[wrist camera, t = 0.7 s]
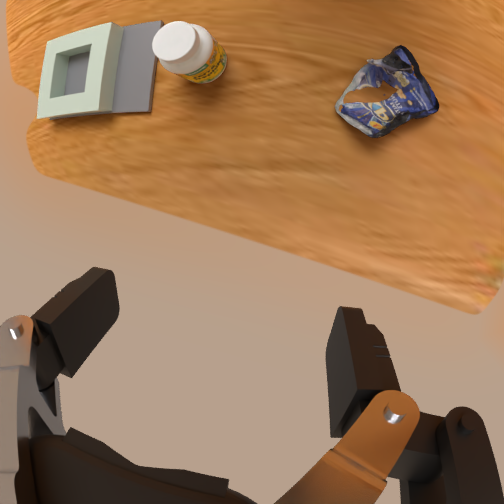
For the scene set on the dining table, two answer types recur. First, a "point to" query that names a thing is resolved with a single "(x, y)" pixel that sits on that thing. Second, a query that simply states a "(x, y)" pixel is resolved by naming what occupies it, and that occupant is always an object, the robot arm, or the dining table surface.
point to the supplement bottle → (189, 52)
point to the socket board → (127, 70)
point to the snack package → (399, 104)
